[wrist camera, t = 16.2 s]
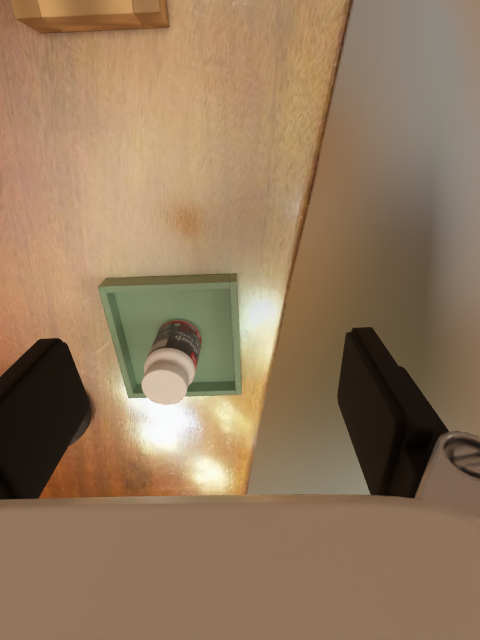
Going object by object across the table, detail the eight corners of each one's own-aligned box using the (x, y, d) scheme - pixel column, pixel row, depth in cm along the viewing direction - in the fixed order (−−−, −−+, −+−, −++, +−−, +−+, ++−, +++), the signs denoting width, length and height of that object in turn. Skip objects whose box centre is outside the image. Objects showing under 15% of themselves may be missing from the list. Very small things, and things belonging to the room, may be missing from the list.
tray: (236, 273, 37) (236, 281, 35) (241, 382, 45) (241, 394, 43) (106, 278, 38) (97, 286, 35) (133, 385, 46) (128, 398, 43)
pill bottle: (211, 340, 41) (203, 392, 32) (179, 362, 43) (164, 417, 34) (180, 309, 39) (164, 356, 30) (148, 333, 41) (124, 385, 32)
